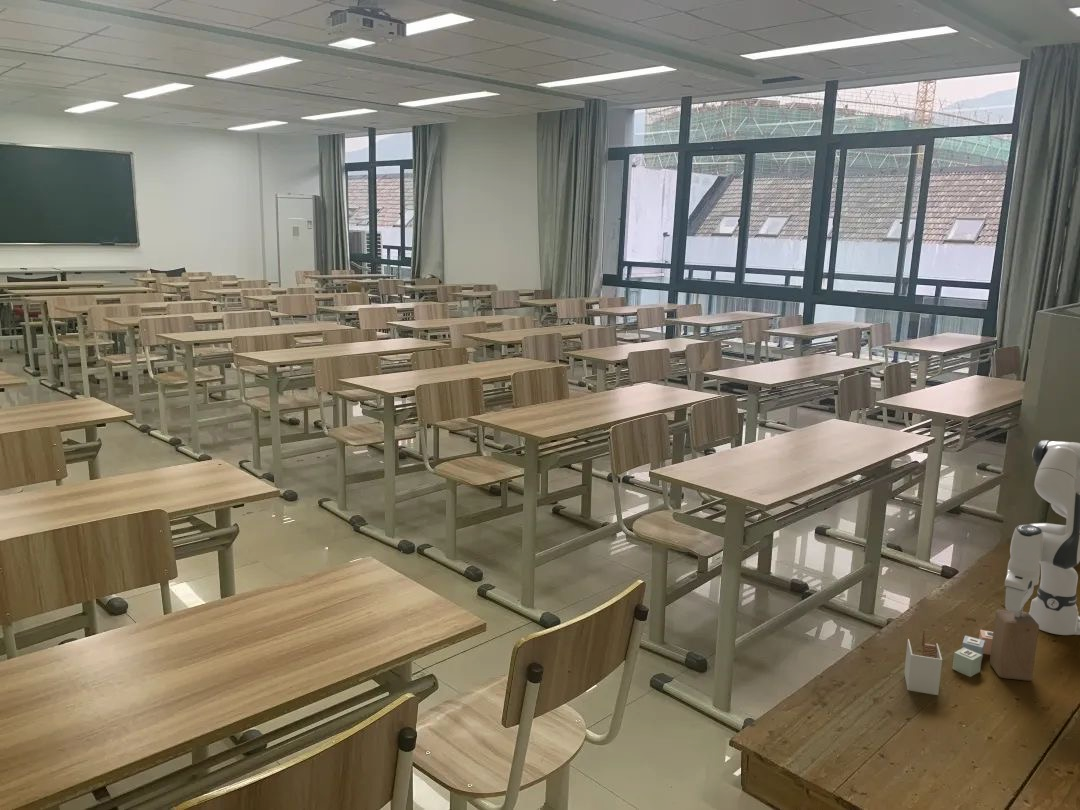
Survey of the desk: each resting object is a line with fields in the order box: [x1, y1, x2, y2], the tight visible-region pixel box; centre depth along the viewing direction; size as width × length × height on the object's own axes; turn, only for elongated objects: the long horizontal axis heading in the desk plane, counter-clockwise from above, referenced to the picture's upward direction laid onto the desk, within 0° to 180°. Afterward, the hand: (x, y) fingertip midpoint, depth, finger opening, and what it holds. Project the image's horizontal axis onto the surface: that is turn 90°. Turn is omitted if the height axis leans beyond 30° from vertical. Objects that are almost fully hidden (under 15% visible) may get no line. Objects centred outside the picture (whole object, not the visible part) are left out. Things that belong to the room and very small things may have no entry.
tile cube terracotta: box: [978, 629, 993, 656], centre depth 272 cm, size 6×6×6 cm
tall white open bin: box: [903, 629, 943, 696], centre depth 250 cm, size 9×11×17 cm
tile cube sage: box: [952, 647, 983, 678], centre depth 259 cm, size 6×6×6 cm
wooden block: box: [989, 609, 1040, 681], centre depth 257 cm, size 10×10×20 cm
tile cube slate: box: [961, 635, 985, 662], centre depth 267 cm, size 6×6×6 cm
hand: (1017, 615), depth 254 cm, fingers closed
